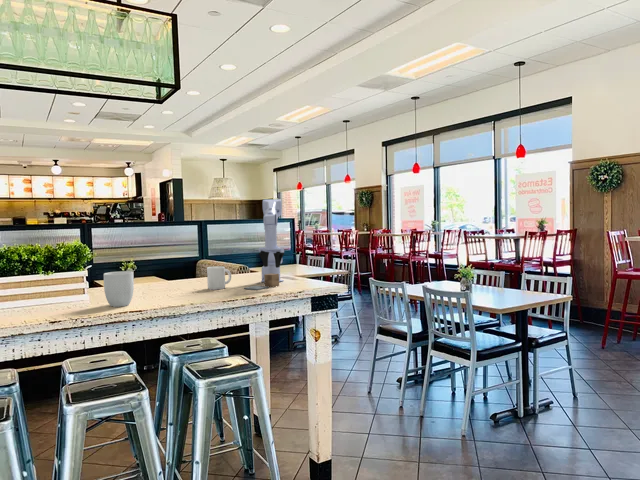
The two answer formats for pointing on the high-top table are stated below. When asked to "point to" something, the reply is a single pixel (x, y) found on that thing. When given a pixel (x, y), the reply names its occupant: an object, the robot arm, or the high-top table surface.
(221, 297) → the high-top table surface
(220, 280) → the mug
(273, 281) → the walnut block
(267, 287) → the slate coaster
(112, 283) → the mug
